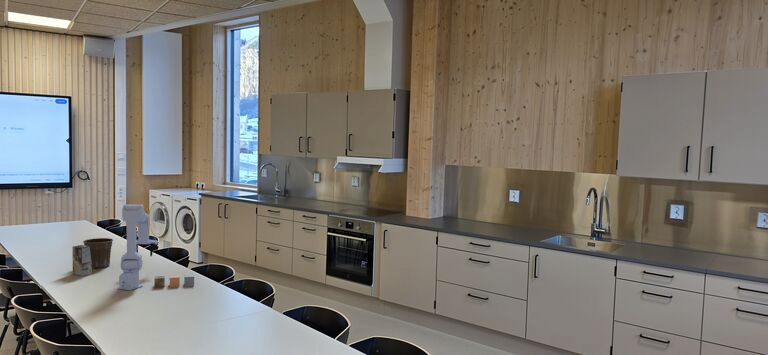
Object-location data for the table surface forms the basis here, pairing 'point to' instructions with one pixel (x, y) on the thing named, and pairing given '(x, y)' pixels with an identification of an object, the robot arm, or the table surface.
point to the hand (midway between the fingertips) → (144, 255)
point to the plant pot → (100, 251)
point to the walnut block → (159, 281)
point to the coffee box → (82, 260)
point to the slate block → (189, 280)
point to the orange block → (174, 280)
